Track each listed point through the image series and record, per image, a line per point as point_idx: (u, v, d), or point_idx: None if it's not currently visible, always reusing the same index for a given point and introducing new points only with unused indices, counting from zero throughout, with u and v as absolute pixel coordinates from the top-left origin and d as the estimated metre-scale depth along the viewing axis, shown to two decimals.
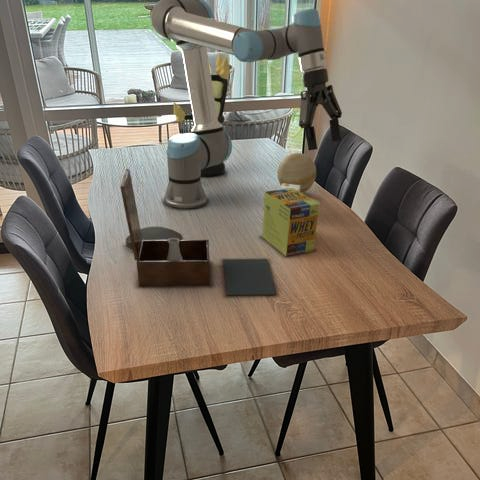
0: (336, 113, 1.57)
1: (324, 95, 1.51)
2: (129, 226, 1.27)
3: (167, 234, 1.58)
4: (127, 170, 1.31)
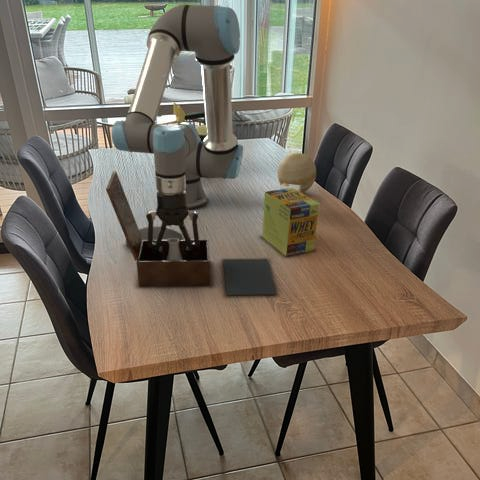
0: (189, 244, 1.37)
1: (175, 219, 1.32)
2: (122, 227, 1.27)
3: (167, 234, 1.58)
4: (114, 172, 1.31)
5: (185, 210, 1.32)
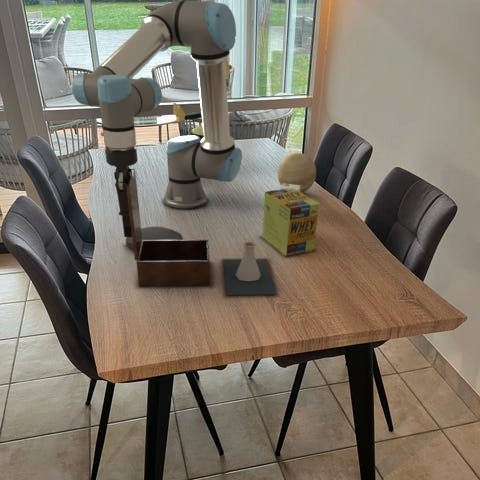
0: None
1: None
2: (132, 226, 1.27)
3: (167, 234, 1.58)
4: (133, 170, 1.31)
5: (116, 171, 1.22)
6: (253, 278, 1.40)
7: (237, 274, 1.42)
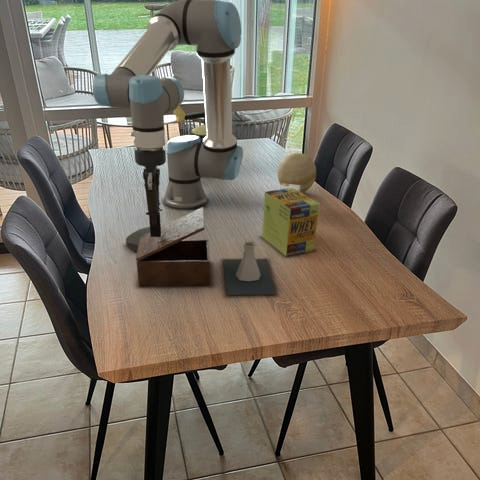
0: None
1: None
2: (168, 245, 1.31)
3: None
4: (203, 210, 1.39)
5: (145, 171, 1.23)
6: (253, 278, 1.40)
7: (237, 274, 1.42)
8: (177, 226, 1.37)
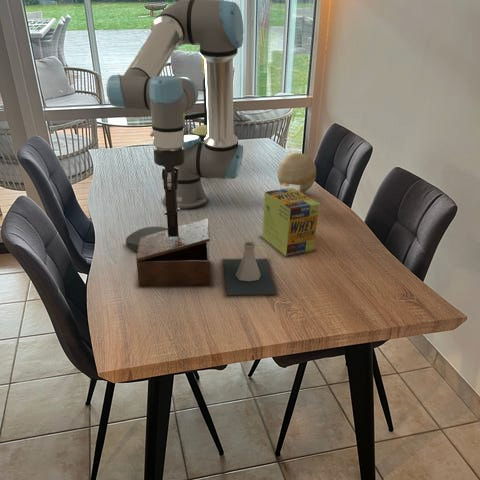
0: None
1: None
2: (171, 250, 1.32)
3: None
4: (208, 221, 1.41)
5: (165, 171, 1.23)
6: (253, 278, 1.40)
7: (237, 274, 1.42)
8: (181, 233, 1.38)
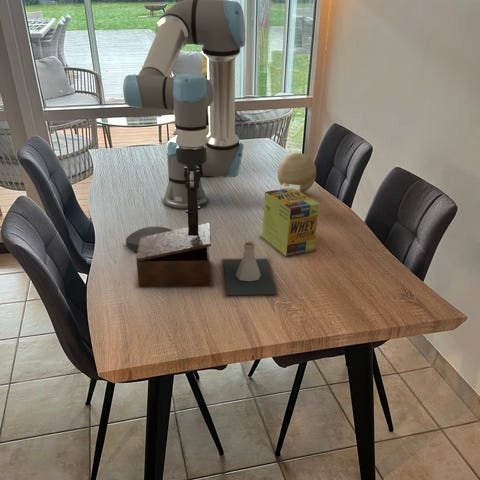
0: None
1: None
2: (172, 252, 1.32)
3: None
4: (209, 226, 1.42)
5: (187, 170, 1.23)
6: (253, 278, 1.40)
7: (237, 274, 1.42)
8: (182, 235, 1.39)
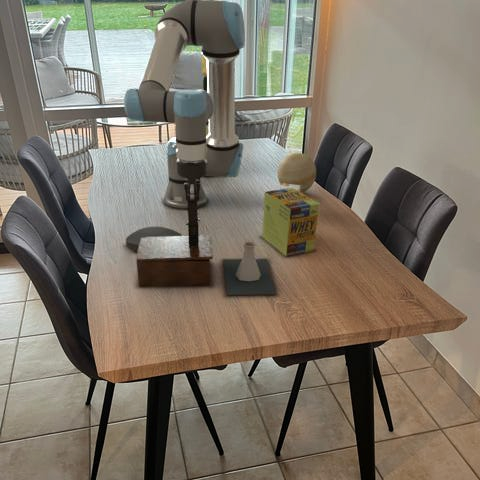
0: None
1: None
2: (173, 259, 1.33)
3: (167, 234, 1.58)
4: None
5: (187, 183, 1.25)
6: (253, 278, 1.40)
7: (237, 274, 1.42)
8: (183, 243, 1.40)
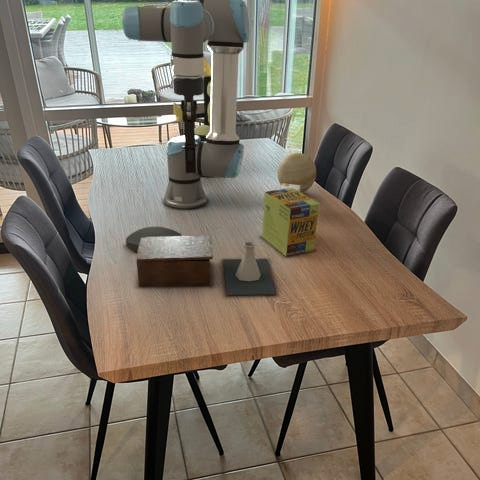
0: None
1: None
2: (173, 259, 1.33)
3: (167, 234, 1.58)
4: None
5: (184, 101, 1.23)
6: (253, 278, 1.40)
7: (237, 274, 1.42)
8: (183, 243, 1.40)
